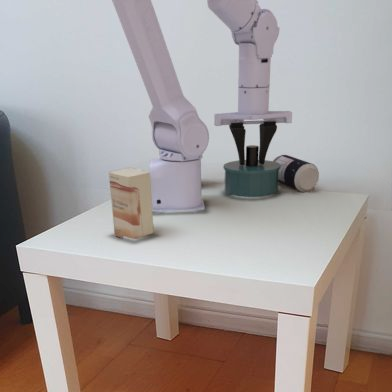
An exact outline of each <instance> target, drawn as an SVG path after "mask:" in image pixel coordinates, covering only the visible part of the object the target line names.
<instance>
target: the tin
mask: <svg viewBox="0 0 392 392" xmlns="http://www.w3.org/2000/svg"><path fill="white" fill-rule="evenodd" d="M278 172H279V170H277V171H274V172H270V173H261V174H241V173H233V172H229V171H226V170H224V194H225V196H235V197H243V198H244V197H246V198H253V197H254V198H256V197H265V196H271V195H275V194H278V188H279V182H278Z"/></svg>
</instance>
